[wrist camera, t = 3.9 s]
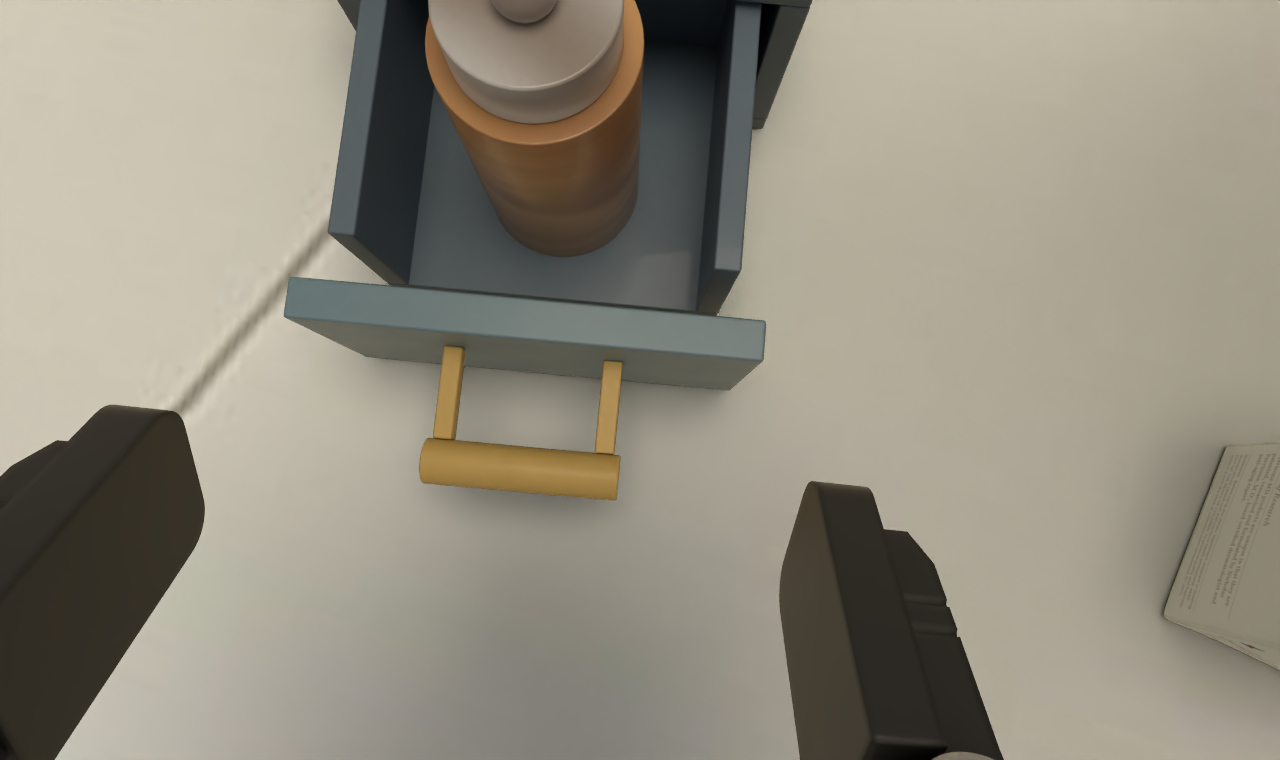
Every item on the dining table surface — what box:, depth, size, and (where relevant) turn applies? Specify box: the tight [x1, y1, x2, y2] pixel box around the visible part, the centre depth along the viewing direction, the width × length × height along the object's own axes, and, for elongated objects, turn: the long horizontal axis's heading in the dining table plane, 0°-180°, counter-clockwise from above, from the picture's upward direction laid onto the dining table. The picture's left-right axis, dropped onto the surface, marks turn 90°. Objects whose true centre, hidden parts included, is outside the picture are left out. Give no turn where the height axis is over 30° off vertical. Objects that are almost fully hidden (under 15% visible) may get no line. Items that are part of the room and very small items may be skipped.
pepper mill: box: [425, 0, 644, 257], centre depth 24 cm, size 5×5×13 cm
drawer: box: [284, 0, 766, 501], centre depth 27 cm, size 18×14×7 cm
